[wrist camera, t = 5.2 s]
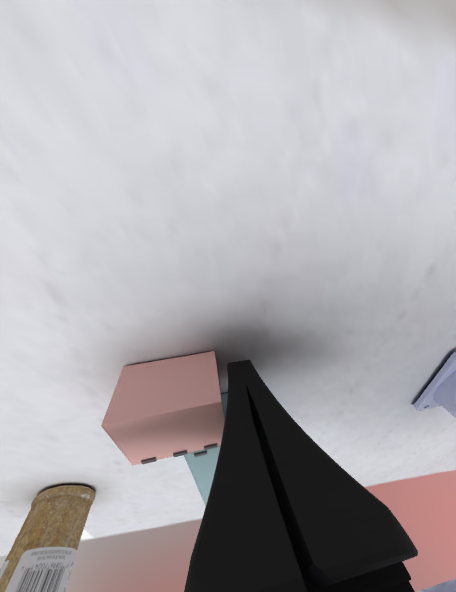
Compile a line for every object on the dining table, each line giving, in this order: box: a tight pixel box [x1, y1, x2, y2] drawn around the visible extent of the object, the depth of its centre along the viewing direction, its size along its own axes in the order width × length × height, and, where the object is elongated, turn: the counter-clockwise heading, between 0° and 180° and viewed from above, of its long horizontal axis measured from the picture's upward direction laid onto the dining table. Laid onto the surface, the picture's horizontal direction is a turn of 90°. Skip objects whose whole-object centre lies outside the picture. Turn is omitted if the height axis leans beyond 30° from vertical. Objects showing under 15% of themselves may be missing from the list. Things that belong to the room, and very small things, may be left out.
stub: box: [101, 351, 225, 465], centre depth 10 cm, size 5×4×3 cm
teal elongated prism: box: [184, 393, 228, 506], centre depth 14 cm, size 5×10×3 cm, turn 4°
